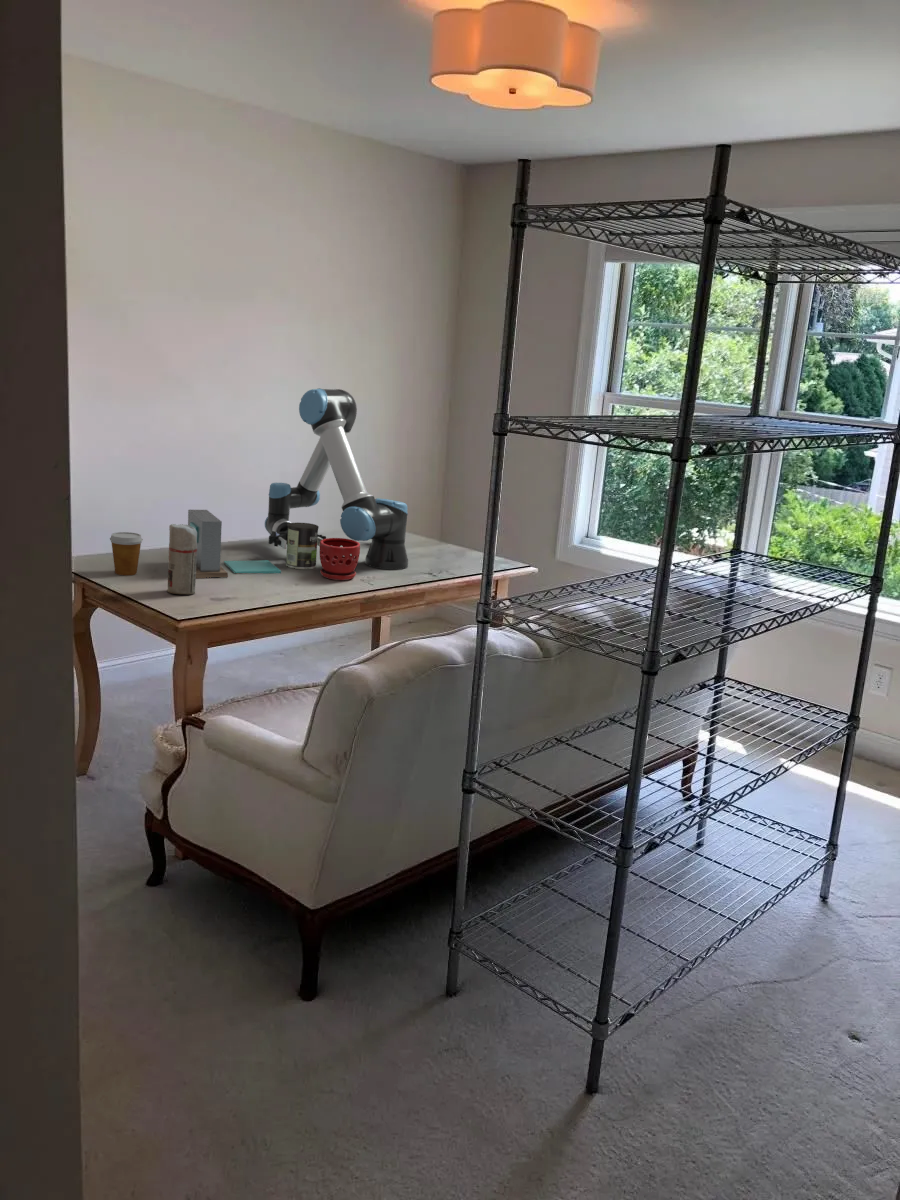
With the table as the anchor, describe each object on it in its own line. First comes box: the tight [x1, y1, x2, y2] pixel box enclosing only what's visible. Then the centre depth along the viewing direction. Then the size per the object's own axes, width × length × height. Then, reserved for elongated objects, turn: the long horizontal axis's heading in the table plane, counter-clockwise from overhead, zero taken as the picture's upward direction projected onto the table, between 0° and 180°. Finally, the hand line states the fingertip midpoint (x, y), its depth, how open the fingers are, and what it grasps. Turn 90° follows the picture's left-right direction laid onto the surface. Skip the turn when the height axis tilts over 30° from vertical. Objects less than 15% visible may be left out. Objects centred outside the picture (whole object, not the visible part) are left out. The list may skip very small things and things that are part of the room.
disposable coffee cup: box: [109, 531, 143, 577], centre depth 302 cm, size 10×10×12 cm
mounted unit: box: [187, 509, 229, 579], centre depth 315 cm, size 24×10×18 cm, turn 26°
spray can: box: [166, 523, 197, 595], centre depth 285 cm, size 8×8×20 cm
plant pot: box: [319, 537, 361, 581], centre depth 322 cm, size 13×13×12 cm
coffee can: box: [285, 522, 319, 570], centre depth 332 cm, size 10×10×14 cm
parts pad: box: [223, 559, 282, 574], centre depth 324 cm, size 15×15×1 cm
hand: (305, 544), depth 329 cm, fingers open, 13 cm apart
